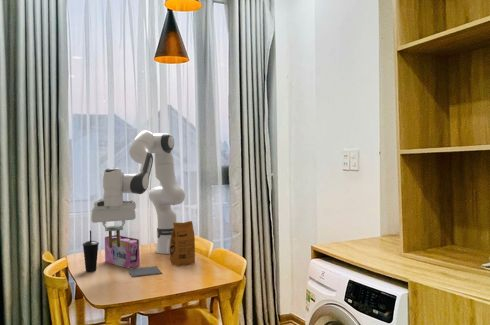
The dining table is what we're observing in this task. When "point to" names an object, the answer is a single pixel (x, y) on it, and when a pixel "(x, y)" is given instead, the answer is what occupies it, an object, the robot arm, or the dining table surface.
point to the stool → (117, 229)
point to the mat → (144, 271)
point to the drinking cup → (90, 255)
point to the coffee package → (182, 244)
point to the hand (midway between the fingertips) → (114, 230)
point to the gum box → (123, 252)
